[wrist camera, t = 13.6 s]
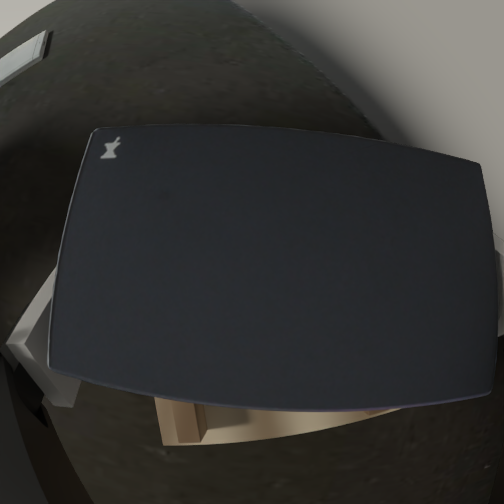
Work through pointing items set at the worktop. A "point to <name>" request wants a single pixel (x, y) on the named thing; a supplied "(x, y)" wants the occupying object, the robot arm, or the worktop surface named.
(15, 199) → the worktop surface
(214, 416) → the tray
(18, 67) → the hard drive
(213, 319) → the small box
